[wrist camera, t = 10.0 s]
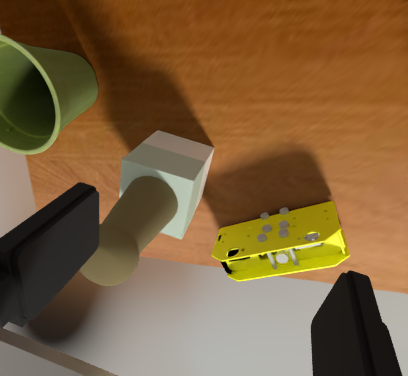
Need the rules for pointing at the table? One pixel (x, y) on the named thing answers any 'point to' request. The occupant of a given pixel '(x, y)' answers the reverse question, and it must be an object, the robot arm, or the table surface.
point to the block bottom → (184, 151)
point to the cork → (130, 230)
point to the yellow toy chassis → (282, 243)
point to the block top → (167, 180)
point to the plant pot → (40, 94)
